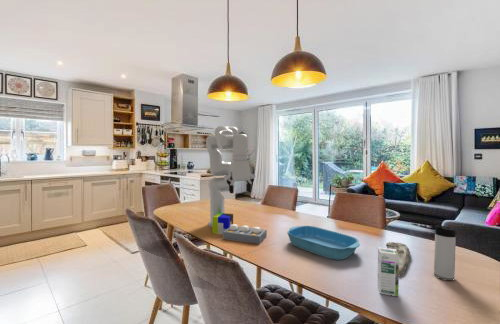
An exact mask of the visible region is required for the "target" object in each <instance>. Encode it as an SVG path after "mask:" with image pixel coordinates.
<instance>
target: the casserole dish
mask: <svg viewBox="0 0 500 324" xmlns="http://www.w3.org/2000/svg"><path fill="white" fill-rule="evenodd" d="M287 235H288V238H289V242H290V243H291V244H292V245H293V246H295V247H297V248H299V249H301V250H304V251H307V252H310V253H312V254H315V255H318V256H321V257H324V258H328V259H330V258H331V259H330V260H334V259H335V260H336V261H341V260H344V259H346V258H348V257H350V256H351V255H352V254H354V253H355V251H356V249H357V248H359V247H360V246H361V243H360V240H359V238H357V237H354V236H351V235H349V234H344V233H341V232H337V231H333V230H331V229H330V230H329V229H326V228H322V227H318V226H314V225H299V226H293V227H289V230H288V231H287ZM335 260H334V261H335Z"/></svg>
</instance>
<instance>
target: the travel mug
mask: <svg viewBox="0 0 500 324" xmlns="http://www.w3.org/2000/svg"><path fill="white" fill-rule="evenodd" d="M456 233H457V230H456V229H454V228H451V227H449V226H444V225H435V230H434V259H433V261H434V262H433V275H434V276H435V277H436V276H437V277H439V278H442V279H446V280H453V279H454V278H455V277H456V276H455V273H456V272H455V271H456V244H457V243H456V241H457V240H456V238H457V236H456ZM437 277H436V278H437ZM439 278H438V279H439ZM442 279H441V280H442ZM455 279H456V278H455ZM455 279H454V280H455ZM446 280H445V281H446ZM454 280H453V281H454Z"/></svg>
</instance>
